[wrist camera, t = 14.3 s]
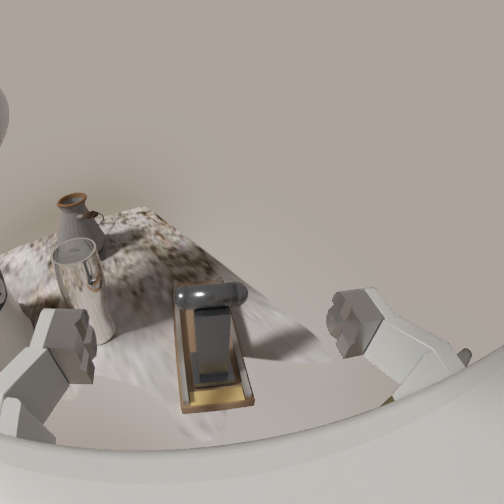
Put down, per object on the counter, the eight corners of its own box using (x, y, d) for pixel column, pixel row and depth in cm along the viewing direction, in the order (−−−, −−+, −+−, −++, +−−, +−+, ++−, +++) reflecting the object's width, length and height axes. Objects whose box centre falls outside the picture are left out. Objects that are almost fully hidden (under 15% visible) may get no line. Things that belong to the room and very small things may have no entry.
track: (182, 413, 32) (180, 404, 31) (172, 289, 52) (171, 278, 50) (253, 405, 34) (255, 396, 33) (222, 286, 54) (223, 275, 52)
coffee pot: (54, 251, 57) (39, 190, 49) (95, 233, 65) (86, 174, 57) (86, 301, 46) (65, 226, 38) (138, 276, 54) (128, 202, 46)
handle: (185, 389, 33) (172, 307, 26) (178, 321, 43) (171, 237, 35) (244, 383, 35) (254, 300, 27) (227, 317, 45) (231, 234, 37)
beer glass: (94, 310, 45) (72, 232, 37) (126, 323, 44) (107, 241, 36) (71, 337, 39) (39, 258, 31) (103, 353, 38) (74, 271, 30)
